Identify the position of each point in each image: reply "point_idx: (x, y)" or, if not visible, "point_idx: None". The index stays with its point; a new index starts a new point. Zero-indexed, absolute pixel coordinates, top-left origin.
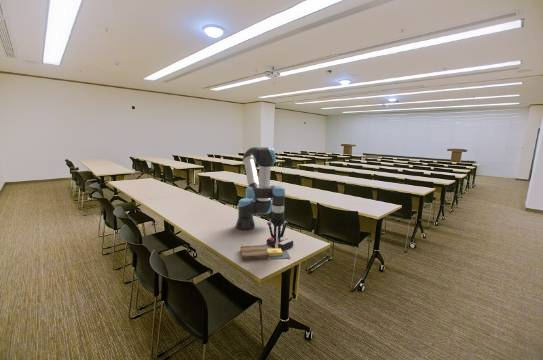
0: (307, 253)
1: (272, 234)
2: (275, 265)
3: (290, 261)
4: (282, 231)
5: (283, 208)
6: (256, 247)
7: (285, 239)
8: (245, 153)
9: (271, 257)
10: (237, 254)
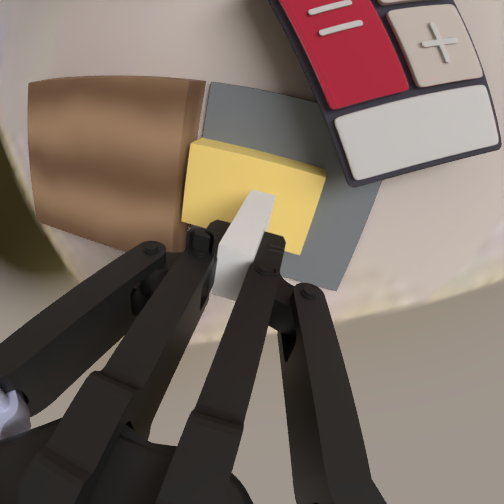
0: (473, 279)
1: (135, 317)
2: (205, 312)
3: None
4: (285, 395)
5: None
6: (106, 117)
7: (453, 79)
8: None
9: None
10: None
